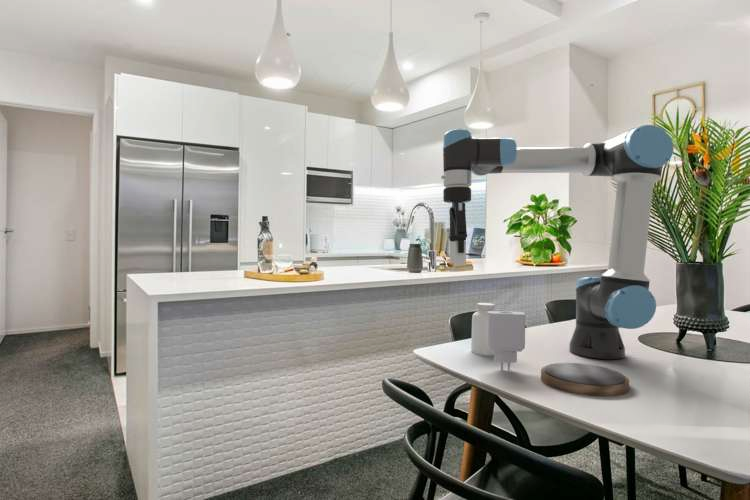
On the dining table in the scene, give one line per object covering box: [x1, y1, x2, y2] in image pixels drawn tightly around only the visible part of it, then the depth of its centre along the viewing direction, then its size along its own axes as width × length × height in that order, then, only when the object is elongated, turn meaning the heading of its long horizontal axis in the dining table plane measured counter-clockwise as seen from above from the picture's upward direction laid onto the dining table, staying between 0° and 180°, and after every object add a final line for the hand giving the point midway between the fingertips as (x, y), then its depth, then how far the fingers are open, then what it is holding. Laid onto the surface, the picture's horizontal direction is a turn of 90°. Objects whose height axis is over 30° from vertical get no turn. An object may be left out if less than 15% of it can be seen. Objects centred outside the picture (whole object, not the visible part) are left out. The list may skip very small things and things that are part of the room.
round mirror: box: [540, 362, 630, 397], centre depth 106 cm, size 19×19×2 cm
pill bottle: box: [470, 302, 496, 356], centre depth 135 cm, size 8×8×15 cm
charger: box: [487, 310, 526, 370], centre depth 117 cm, size 5×9×15 cm, turn 80°
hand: (457, 264), depth 122 cm, fingers open, 13 cm apart
